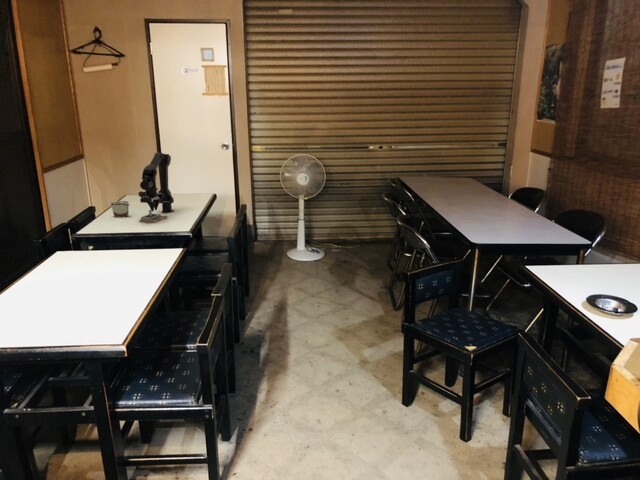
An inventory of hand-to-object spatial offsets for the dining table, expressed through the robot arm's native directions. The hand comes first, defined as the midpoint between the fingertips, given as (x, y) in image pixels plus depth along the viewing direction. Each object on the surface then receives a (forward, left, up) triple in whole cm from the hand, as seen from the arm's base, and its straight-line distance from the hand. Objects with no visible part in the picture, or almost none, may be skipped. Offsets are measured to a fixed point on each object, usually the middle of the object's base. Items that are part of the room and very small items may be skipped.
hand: (154, 210), depth 323 cm
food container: (-1, -25, -6) cm, 26 cm away
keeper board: (+2, 0, -6) cm, 6 cm away
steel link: (+4, 0, -4) cm, 6 cm away
